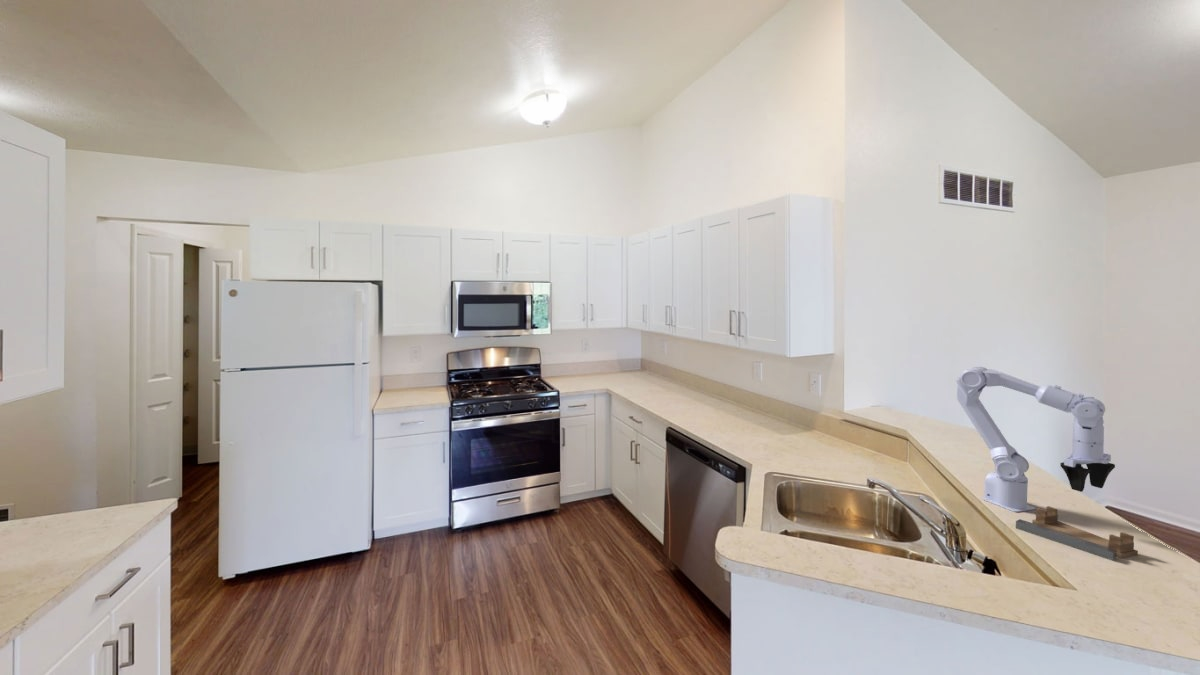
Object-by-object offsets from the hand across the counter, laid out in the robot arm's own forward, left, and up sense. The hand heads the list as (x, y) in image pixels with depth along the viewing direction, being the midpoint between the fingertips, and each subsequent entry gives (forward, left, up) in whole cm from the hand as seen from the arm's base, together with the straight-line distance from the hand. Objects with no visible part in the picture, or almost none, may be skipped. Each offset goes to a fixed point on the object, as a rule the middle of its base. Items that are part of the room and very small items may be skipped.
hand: (1087, 488), depth 120 cm
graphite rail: (+5, -17, -11) cm, 21 cm away
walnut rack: (+5, -10, -10) cm, 15 cm away
